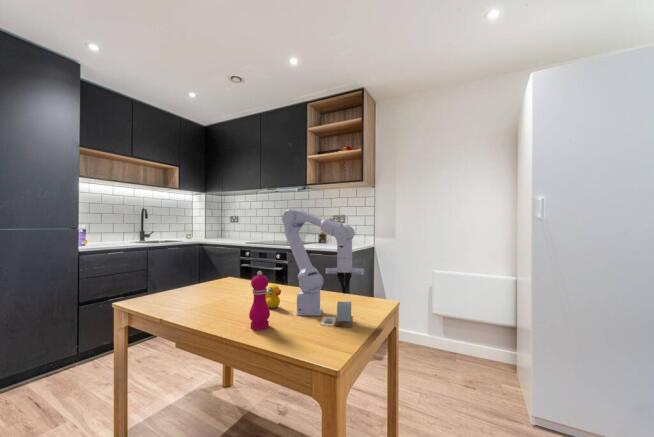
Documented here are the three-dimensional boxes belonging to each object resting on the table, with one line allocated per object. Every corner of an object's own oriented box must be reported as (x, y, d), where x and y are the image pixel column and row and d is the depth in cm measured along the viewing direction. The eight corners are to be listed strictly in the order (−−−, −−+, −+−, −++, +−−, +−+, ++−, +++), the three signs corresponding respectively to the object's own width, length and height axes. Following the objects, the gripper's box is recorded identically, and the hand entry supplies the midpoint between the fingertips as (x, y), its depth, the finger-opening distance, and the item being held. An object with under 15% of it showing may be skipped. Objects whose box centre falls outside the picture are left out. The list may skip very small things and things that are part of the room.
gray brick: (337, 320, 98) (337, 305, 98) (338, 316, 103) (337, 301, 103) (351, 321, 98) (351, 305, 98) (351, 316, 102) (351, 301, 103)
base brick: (335, 326, 98) (335, 321, 98) (336, 320, 104) (336, 315, 104) (352, 327, 97) (352, 321, 97) (352, 321, 103) (352, 315, 103)
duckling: (285, 309, 117) (285, 286, 117) (274, 312, 114) (274, 288, 114) (271, 303, 126) (271, 281, 126) (260, 306, 122) (260, 283, 122)
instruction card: (320, 325, 99) (320, 324, 99) (323, 317, 107) (323, 316, 107) (334, 325, 99) (334, 324, 99) (336, 317, 107) (336, 317, 107)
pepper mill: (259, 332, 93) (259, 273, 93) (244, 328, 97) (244, 271, 97) (274, 325, 99) (274, 270, 99) (259, 321, 103) (259, 268, 103)
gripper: (324, 258, 102) (324, 294, 102) (363, 259, 100) (363, 296, 100) (326, 255, 109) (326, 290, 109) (363, 256, 107) (363, 291, 107)
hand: (344, 292), depth 105 cm, fingers closed
